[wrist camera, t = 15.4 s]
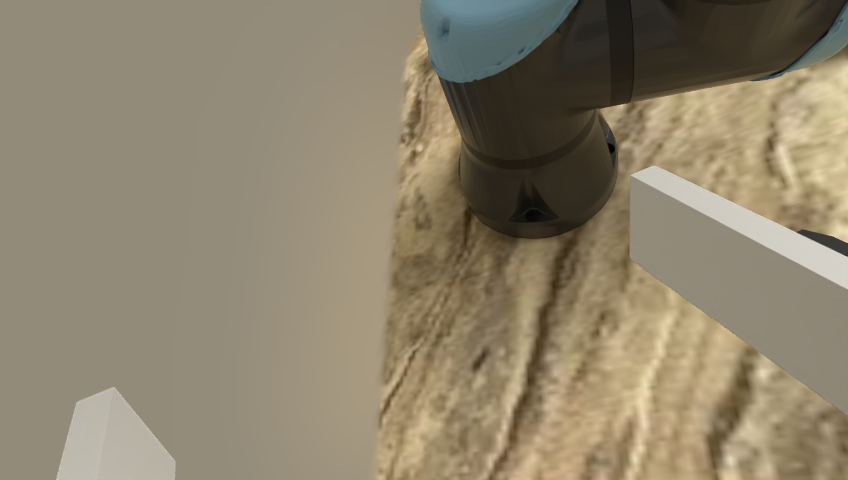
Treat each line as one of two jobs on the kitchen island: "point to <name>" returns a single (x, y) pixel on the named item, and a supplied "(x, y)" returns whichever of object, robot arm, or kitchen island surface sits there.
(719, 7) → the robot arm
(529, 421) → the kitchen island surface
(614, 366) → the kitchen island surface
